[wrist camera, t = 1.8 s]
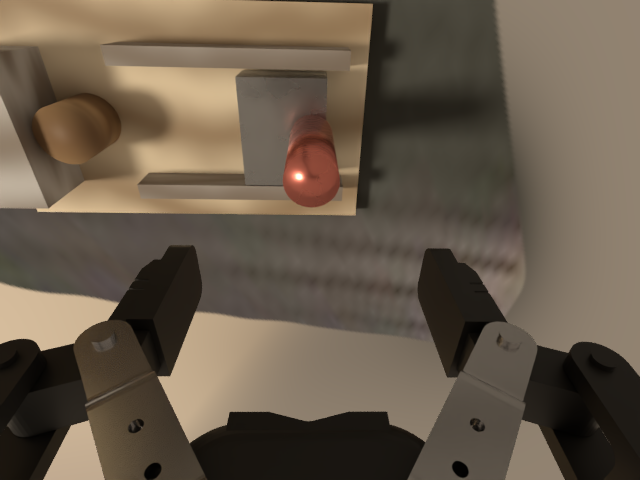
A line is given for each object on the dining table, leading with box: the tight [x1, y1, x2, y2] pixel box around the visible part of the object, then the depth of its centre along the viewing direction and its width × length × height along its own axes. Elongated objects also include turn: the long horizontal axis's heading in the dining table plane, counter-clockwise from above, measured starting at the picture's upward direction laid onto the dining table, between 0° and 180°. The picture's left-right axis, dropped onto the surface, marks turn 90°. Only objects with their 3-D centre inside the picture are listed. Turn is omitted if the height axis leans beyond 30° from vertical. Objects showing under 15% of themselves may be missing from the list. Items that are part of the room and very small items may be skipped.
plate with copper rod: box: [235, 70, 340, 208], centre depth 24 cm, size 8×6×11 cm
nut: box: [32, 93, 121, 164], centre depth 26 cm, size 4×4×4 cm
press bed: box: [0, 0, 373, 215], centre depth 27 cm, size 16×28×6 cm, turn 89°
